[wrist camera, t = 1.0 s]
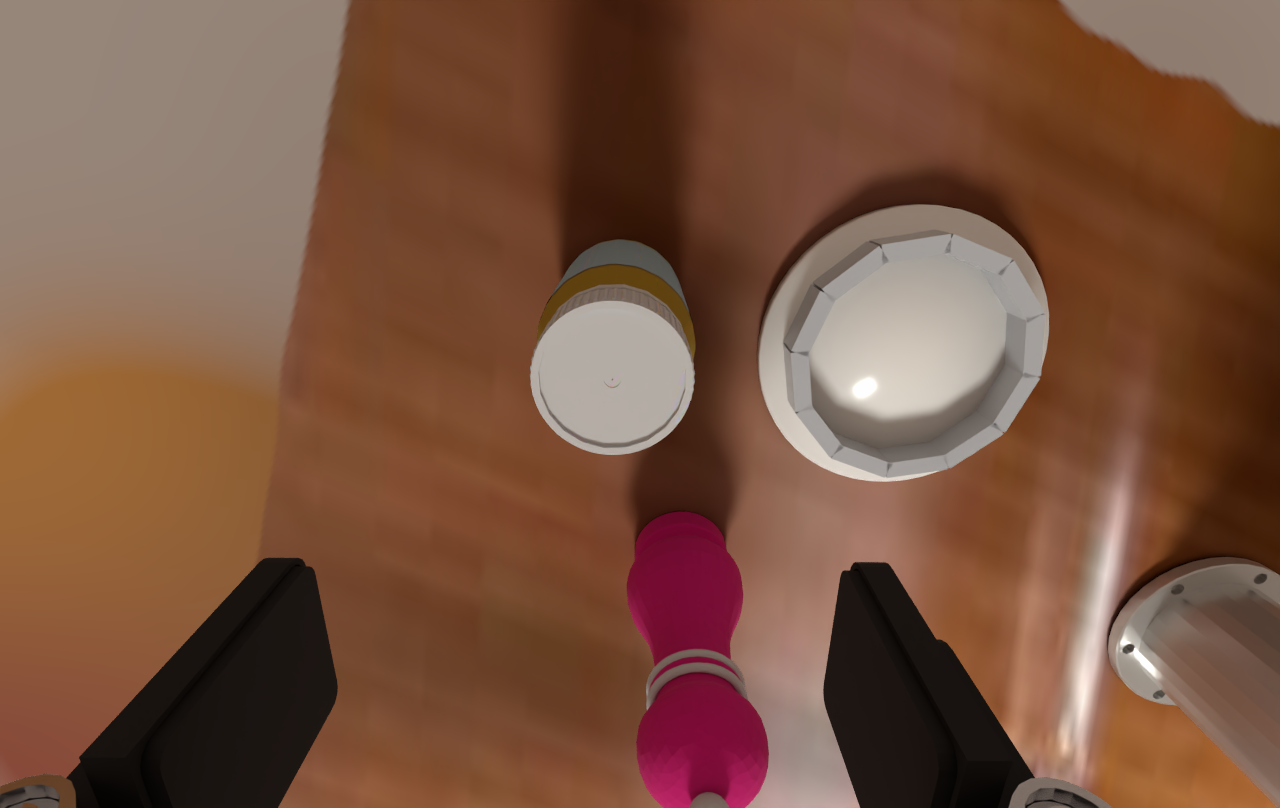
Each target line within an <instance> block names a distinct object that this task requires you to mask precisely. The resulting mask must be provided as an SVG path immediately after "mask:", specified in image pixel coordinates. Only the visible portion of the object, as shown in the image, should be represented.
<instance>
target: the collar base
mask: <svg viewBox="0 0 1280 808" xmlns="http://www.w3.org/2000/svg"><path fill="white" fill-rule="evenodd" d="M1048 335H1049V311H1048V304H1047V297H1046V293H1045V290H1044V287H1043V283H1042V280H1041V278H1040V275H1039V273H1038V271H1037V269H1036V267H1035V265H1034V263H1033V262H1032V260H1031V259H1030V257H1029V256H1028V254H1027V253H1026V251H1025V250H1024V249H1023V248H1022V246H1021V245H1020V244H1019V243H1018V242H1017V241H1016V240H1015V239H1014V238H1013V237H1012V236H1011V235H1010V234H1008V233H1007V232H1006V231H1004V230H1003V229H1002V228H1000V227H999V226H998V225H996V224H994V223H992V222H991V221H989V220H987V219H985V218H983V217H981V216H979V215H976V214H973V213H970V212H967V211H964V210H961V209H956V208H951V207H945V206H939V205H929V204H908V205H898V206H891V207H887V208H883V209H878V210H874V211H872V212H869V213H866V214H863V215H861V216H858V217H855V218H853V219H851V220H849V221H848V222H846V223H844V224H842V225H840V226H838V227H836V228H835V229H833V230H832V231H830V232H829V233H827V234H826V235H824V236H823V237H821V238H820V239H819V240H818V241H816V242H815V243H814V244H813V245H812V246H811V247H810V248H808V249H807V250H806V251H805V252H804V253H803V254H802V255H801V256H800V257H799V258H798V260H797V261H796V262H795V263H794V264H793V265H792V266H791V267H790V269H789V270H788V272H787V273H786V274H785V276H784V277H783V279H782V280H781V282H780V283H779V285H778V287H777V288H776V290H775V292H774V294H773V296H772V298H771V300H770V302H769V304H768V307H767V310H766V312H765V315H764V317H763V321H762V325H761V329H760V333H759V339H758V349H757V371H758V377H759V383H760V388H761V391H762V394H763V398H764V401H765V404H766V406H767V408H768V410H769V412H770V414H771V416H772V418H773V420H774V422H775V424H776V425H777V427H778V428H779V429H780V431H781V432H782V434H783V435H784V437H785V438H786V439H787V440H788V441H789V442H790V443H791V444H792V445H793V447H794V448H795V449H796V450H798V451H799V452H800V453H801V454H803V455H804V456H805V457H806V458H808V459H809V460H811V461H812V462H814V463H816V464H817V465H819V466H821V467H822V468H825V469H827V470H829V471H832V472H834V473H836V474H839V475H843V476H846V477H850V478H854V479H860V480H867V481H899V480H907V479H912V478H917V477H922V476H925V475H928V474H932V473H935V472H938V471H941V470H947V467H948V468H949V469H950V468H951V467H953V466H955V465H956V464H958V463H959V462H961V461H962V460H964V459H965V458H967V457H969V456H970V455H972V454H974V453H975V452H976V451H978V450H980V449H981V448H983V447H984V446H986V445H987V444H989V443H990V442H992V441H994V440H995V439H997V438H998V437H1000V436H1001V435H1003V433H1002V431H1003V432H1006V431H1007V429H1008V427H1009V426H1010V424H1011V423H1012V421H1013V420H1014V418H1015V417H1016V415H1017V413H1018V412H1019V410H1020V409H1021V407H1022V406H1023V404H1024V403H1025V401H1026V399H1027V398H1028V396H1029V395H1030V393H1031V392H1032V390H1033V388H1034V387H1035V385H1036V384H1037V382H1038V381H1039V379H1040V378H1039V377H1038V376H1041V368H1042V364H1043V361H1044V357H1045V353H1046V349H1047V342H1048Z"/></svg>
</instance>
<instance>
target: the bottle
mask: <svg viewBox="0 0 1280 808" xmlns="http://www.w3.org/2000/svg"><path fill="white" fill-rule="evenodd" d="M694 353H695V335H694V329H693V323H692V319H691V316H690V313H689V310H688V307H687V304H686V301H685V298H684V295H683V292H682V289H681V286H680V283H679V280H678V278H677V276H676V274H675V273H674V271H673V269H672V267H671V265H670V264H669V263H668V261H667V260H666V259H665V258H664V257H663V256H662V255H660V254H659V253H658V252H657V251H656V250H654V249H653V248H651V247H649V246H647V245H645V244H643V243H641V242H637V241H632V240H625V239H615V240H609V241H604V242H601V243H598V244H596V245H594V246H592V247H591V248H589V249H587V250H585V251H584V252H583V253H581V254H580V255H579V256H578V257H577V259H576V260H575V261H574V262H573V263H572V264H571V265H570V267H569V268H568V270H567V271H566V273H565V275H564V276H563V278H562V280H561V281H560V283H559V284H558V286H557V288H556V289H555V291H554V292H553V294H552V296H551V297H550V299H549V301H548V302H547V305H546V307H545V309H544V312H543V314H542V316H541V319H540V322H539V326H538V333H537V345H536V347H535V349H534V355H533V357H532V359H531V361H532V364H531V366H530V370H531V374H530V379H531V387H532V394H533V396H534V400H535V403H536V405H537V407H538V410H539V411H540V413H541V415H542V417H543V418H544V420H545V421H546V422H547V424H548V425H549V426H550V427H551V428H552V429H553V430H554V431H555V432H556V433H557V434H558V435H559V436H560V437H562V438H563V439H564V440H566V441H567V442H569V443H571V444H573V445H574V446H576V447H579V448H581V449H584V450H586V451H590V452H594V453H598V454H606V455H621V454H628V453H633V452H637V451H640V450H643V449H646V448H648V447H650V446H652V445H654V444H656V443H657V442H659V441H660V440H662V439H663V438H665V437H666V436H667V435H668V434H669V433H670V432H671V431H672V430H673V429H674V428H675V427H676V426H677V425H678V423H679V422H680V421H681V419H682V418H683V416H684V414H685V412H686V410H687V408H688V407H689V403H690V401H691V399H692V393H693V391H694V388H693V384H694V383H695V379H694V375H695V371H694V363H693V359H694Z"/></svg>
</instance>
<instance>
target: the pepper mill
mask: <svg viewBox="0 0 1280 808" xmlns="http://www.w3.org/2000/svg"><path fill="white" fill-rule="evenodd" d="M627 597H628V605H629V609H630V612H631V615H632V618H633V620H634V623H635V625H636V627H637V628H638V630H639V632H640V633H641V634H642V636H643V637H644V639H645V640H646V641H647V643H648V645H649V647H650V649H651V652H652V655H653V658H654V664H655V667H654V669H653V670H652V672H651V673H650V675H649V678H648V681H647V685H646V694H647V702H646V705H647V711H646V713H645V715H644V716H643V718H642V720H641V723H640V725H639V729H638V735H637V742H636V743H637V760H638V765H639V770H640V773H641V776H642V778H643V781H644V783H645V785H646V788H647V789H648V791H649V792H650V794H651V795H652V796H653V798H654V799H655V800H656V801H657V802H658V803H659V804H660V805H661V806H662V807H664V808H745V807H746V806H747V805H748V804H749V803H750V802H751V801H752V800H753V799H754V798H755V796H756V795H757V794H758V792H759V791H760V789H761V787H762V785H763V782H764V780H765V777H766V773H767V769H768V756H769V751H768V741H767V736H766V732H765V729H764V726H763V723H762V720H761V718H760V716H759V714H758V713H757V711H756V710H755V708H754V707H753V706H752V705H751V703H750V702H749V701H748V697H747V692H746V690H745V683H744V678H743V675H742V673H741V671H740V669H739V668H738V666H737V665H736V664H735V663H734V662H733V661H732V660H731V656H730V640H731V637H732V634H733V631H734V629H735V627H736V625H737V623H738V620H739V617H740V614H741V609H742V603H743V589H742V581H741V575H740V572H739V569H738V567H737V565H736V563H735V561H734V559H733V558H732V557H731V556H730V554H729V553H728V552H727V549H726V545H725V541H724V538H723V535H722V533H721V532H720V530H719V529H718V527H717V526H716V525H715V524H714V523H713V522H711V521H710V520H708V519H707V518H705V517H703V516H701V515H698V514H696V513H691V512H682V511H681V512H672V513H667V514H664V515H662V516H659V517H657V518H655V519H654V520H652V521H651V522H650V523H648V524H647V525H646V526H645V527H644V528H643V530H642V531H641V532H640V534H639V536H638V538H637V541H636V545H635V562H634V563H633V565H632V567H631V569H630V572H629V576H628V581H627Z"/></svg>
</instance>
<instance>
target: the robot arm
mask: <svg viewBox="0 0 1280 808" xmlns="http://www.w3.org/2000/svg"><path fill="white" fill-rule="evenodd" d="M1108 654H1109V659H1110V663H1111V665H1112V667H1113V669H1114V671H1115V673H1116V674H1117V675H1118V677H1119V678H1120V679H1121V680H1122V681H1123V682H1124V683H1125V685H1126V686H1127V687H1128V688H1130V689H1131V690H1132V691H1133V692H1134V693H1136V694H1137V695H1139V696H1141V697H1143V698H1145V699H1147V700H1150V701H1153V702H1157V703H1161V704H1168V705H1177V706H1178V707H1179V708H1180V709H1181V710H1182V711H1183V712H1184V713H1185V714H1186V715H1187V716H1188V717H1189V718H1190V719H1191V720H1192V721H1193V722H1194V723H1195V724H1196V725H1197V726H1198V727H1199V728H1200V730H1201V731H1202V732H1203V733H1204V734H1205V735H1206V736H1207V737H1208V738H1209V739H1210V740H1211V741H1212V742H1213V743H1214V744H1215V745H1216V746H1217V747H1218V748H1219V749H1220V750H1221V751H1222V752H1223V753H1224V754H1225V755H1226V756H1227V757H1228V758H1229V759H1230V760H1231V761H1232V762H1233V763H1234V764H1235V765H1236V766H1237V767H1238V768H1239V769H1240V770H1241V771H1242V772H1243V773H1244V774H1245V775H1246V776H1247V777H1248V778H1249V779H1250V780H1251V781H1252V782H1253V783H1254V784H1255V785H1256V786H1257V787H1258V788H1259V789H1260V790H1261V791H1262V792H1263V793H1264V794H1265V795H1266V796H1267V797H1268V798H1269V799H1270V800H1271V801H1272V802H1273V803H1274V805H1275V806H1276V807H1277V808H1280V575H1279V574H1277V573H1276V572H1274V571H1272V570H1271V569H1269V568H1267V567H1266V566H1264V565H1262V564H1260V563H1258V562H1255V561H1251V560H1248V559H1244V558H1235V557H1217V558H1208V559H1203V560H1198V561H1193V562H1190V563H1187V564H1185V565H1182V566H1179V567H1176V568H1174V569H1172V570H1170V571H1168V572H1166V573H1164V574H1162V575H1160V576H1158V577H1157V578H1155V579H1154V580H1152V581H1151V582H1149V583H1148V584H1147V585H1145V586H1144V587H1142V588H1141V589H1140V590H1139V591H1138V592H1137V593H1136V594H1135V595H1134V596H1133V597H1132V598H1131V599H1130V600H1129V601H1128V602H1127V604H1126V605H1125V606H1124V607H1123V609H1122V610H1121V611H1120V613H1119V615H1118V617H1117V618H1116V620H1115V622H1114V624H1113V627H1112V630H1111V633H1110V636H1109V643H1108ZM337 688H338V686H337V679H336V674H335V669H334V664H333V659H332V654H331V649H330V644H329V640H328V635H327V630H326V625H325V620H324V615H323V610H322V605H321V600H320V595H319V590H318V585H317V580H316V575H315V572H314V570H313V568H312V567H309V566H306V565H305V563H304V561H303V560H302V559H300V558H265V559H263V560H262V561H260V562H259V563H258V564H257V565H256V567H255V568H254V569H253V570H252V571H251V572H250V573H249V574H248V575H247V576H246V577H245V578H244V580H243V581H242V582H241V583H240V584H239V585H238V586H237V587H236V588H235V589H234V590H233V591H232V593H231V594H230V595H229V596H228V597H227V598H226V599H225V600H224V601H223V602H222V603H221V604H220V606H219V607H218V608H217V609H216V610H215V611H214V612H213V613H212V614H211V615H210V616H209V617H208V619H207V620H206V621H205V622H204V623H203V624H202V625H201V626H200V627H199V628H198V629H197V630H196V632H195V633H194V634H193V635H192V636H191V637H190V638H189V639H188V640H187V641H186V642H185V644H183V646H182V647H181V648H180V649H179V650H178V651H177V652H176V653H175V654H174V655H173V656H172V658H171V659H170V660H169V661H168V662H167V663H166V664H165V665H164V666H163V667H162V668H161V669H160V670H159V672H158V673H157V674H156V675H155V676H154V677H153V678H152V679H151V680H150V681H149V682H148V684H146V686H145V687H144V688H143V689H142V690H141V691H140V692H139V693H138V694H137V695H136V696H135V697H134V699H133V700H132V701H131V702H130V703H129V704H128V705H127V706H126V707H125V708H124V709H123V711H122V712H121V713H120V714H119V715H118V716H117V717H116V718H115V719H114V720H113V721H112V722H111V724H110V725H109V726H108V727H107V728H106V729H105V730H104V731H103V732H102V733H101V734H100V736H98V738H97V739H96V740H95V741H94V742H93V743H92V744H91V745H90V746H89V747H88V748H87V749H86V751H85V752H84V753H83V754H82V755H81V756H80V757H79V759H80V761H81V762H80V763H79V765H78V766H77V767H76V768H75V769H74V770H73V771H72V772H71V774H69V776H68V777H67V778H65V777H63V776H61V775H51V774H43V775H37V776H31V777H25V778H22V779H19V780H16V781H14V782H11V783H8V784H5V785H2V786H0V808H278V806H279V805H280V803H281V801H282V799H283V797H284V796H285V794H286V792H287V790H288V788H289V786H290V785H291V783H292V781H293V779H294V777H295V775H296V774H297V772H298V770H299V768H300V766H301V764H302V763H303V761H304V759H305V757H306V755H307V754H308V752H309V750H310V748H311V746H312V744H313V743H314V741H315V739H316V737H317V735H318V733H319V732H320V730H321V728H322V726H323V724H324V722H325V721H326V719H327V717H328V715H329V713H330V712H331V710H332V708H333V706H334V703H335V700H336V696H337ZM823 691H824V702H825V707H826V710H827V713H828V716H829V719H830V722H831V725H832V728H833V731H834V733H835V736H836V739H837V742H838V745H839V748H840V751H841V754H842V756H843V759H844V762H845V765H846V768H847V771H848V774H849V777H850V780H851V782H852V785H853V788H854V791H855V794H856V797H857V800H858V803H859V805H860V808H1112V807H1111V806H1110V805H1108V804H1107V803H1106V802H1105V801H1104V800H1102V799H1100V798H1099V797H1097V796H1095V795H1094V794H1092V793H1090V792H1089V791H1087V790H1086V789H1084V788H1081V787H1079V786H1076V785H1074V784H1071V783H1069V782H1066V781H1063V780H1058V779H1052V778H1047V777H1044V778H1035V777H1034V776H1033V774H1032V773H1031V771H1030V770H1029V768H1028V766H1027V765H1026V763H1025V762H1024V760H1023V759H1022V757H1021V756H1020V754H1019V752H1018V751H1017V749H1016V748H1015V746H1014V745H1013V743H1012V742H1011V740H1010V739H1009V737H1008V735H1007V734H1006V732H1005V731H1004V729H1003V728H1002V726H1001V725H1000V723H999V721H998V720H997V718H996V717H995V715H994V714H993V712H992V711H991V709H990V707H989V706H988V704H987V703H986V701H985V700H984V698H983V697H982V695H981V694H980V692H979V690H978V689H977V687H976V686H975V684H974V683H973V681H972V680H971V678H970V676H969V675H968V673H967V672H966V670H965V669H964V667H963V666H962V664H961V663H960V661H959V659H958V658H957V656H956V655H955V653H954V652H953V650H952V649H951V648H950V646H949V645H948V644H947V643H946V642H944V641H942V640H936V638H935V637H934V635H933V633H932V632H931V630H930V629H929V627H928V625H927V624H926V622H925V621H924V619H923V617H922V616H921V614H920V613H919V611H918V609H917V608H916V606H915V605H914V603H913V601H912V600H911V598H910V597H909V595H908V593H907V592H906V590H905V589H904V587H903V585H902V584H901V582H900V581H899V579H898V577H897V576H896V574H895V573H894V571H893V569H892V568H891V566H890V565H889V564H888V563H880V562H855V563H853V565H852V566H851V570H850V571H843V572H842V574H841V577H840V583H839V589H838V596H837V602H836V609H835V615H834V622H833V628H832V635H831V641H830V648H829V654H828V661H827V667H826V674H825V680H824V689H823Z"/></svg>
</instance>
